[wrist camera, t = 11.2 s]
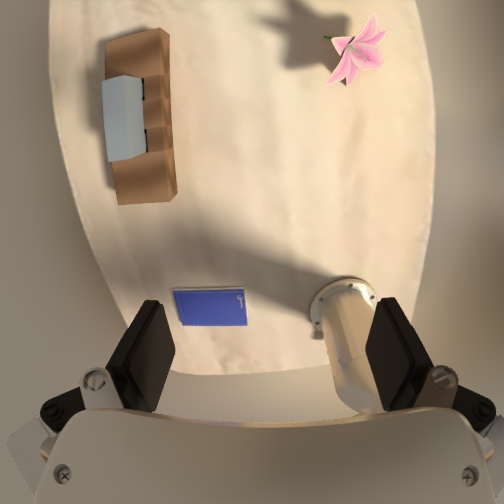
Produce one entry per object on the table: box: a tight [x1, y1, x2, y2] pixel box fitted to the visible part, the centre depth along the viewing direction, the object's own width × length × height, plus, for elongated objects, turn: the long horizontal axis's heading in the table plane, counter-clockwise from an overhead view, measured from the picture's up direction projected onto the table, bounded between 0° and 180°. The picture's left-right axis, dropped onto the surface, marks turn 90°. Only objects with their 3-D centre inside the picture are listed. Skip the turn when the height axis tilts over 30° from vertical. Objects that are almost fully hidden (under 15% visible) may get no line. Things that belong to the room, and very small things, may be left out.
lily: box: [323, 10, 389, 87], centre depth 25 cm, size 12×12×10 cm
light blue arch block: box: [102, 75, 148, 162], centre depth 29 cm, size 10×3×9 cm, turn 1°
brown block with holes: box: [105, 28, 178, 205], centre depth 32 cm, size 24×8×4 cm, turn 1°
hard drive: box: [173, 287, 248, 326], centre depth 48 cm, size 2×8×12 cm
